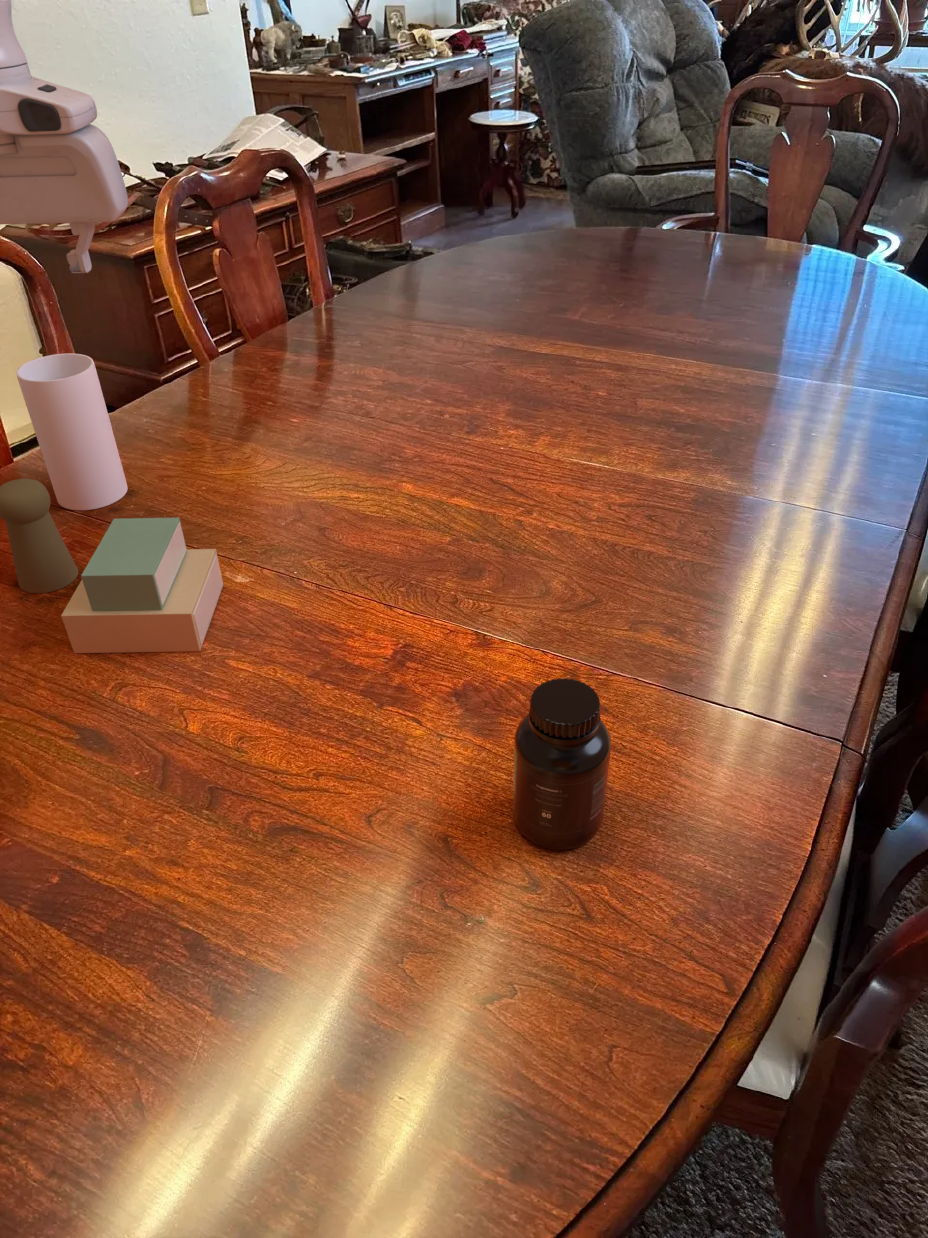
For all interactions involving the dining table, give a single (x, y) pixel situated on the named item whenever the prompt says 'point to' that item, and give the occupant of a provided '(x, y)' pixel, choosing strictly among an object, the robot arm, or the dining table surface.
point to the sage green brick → (135, 564)
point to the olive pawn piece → (35, 538)
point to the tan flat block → (151, 614)
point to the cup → (73, 430)
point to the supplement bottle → (561, 766)
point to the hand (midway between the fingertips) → (31, 272)
